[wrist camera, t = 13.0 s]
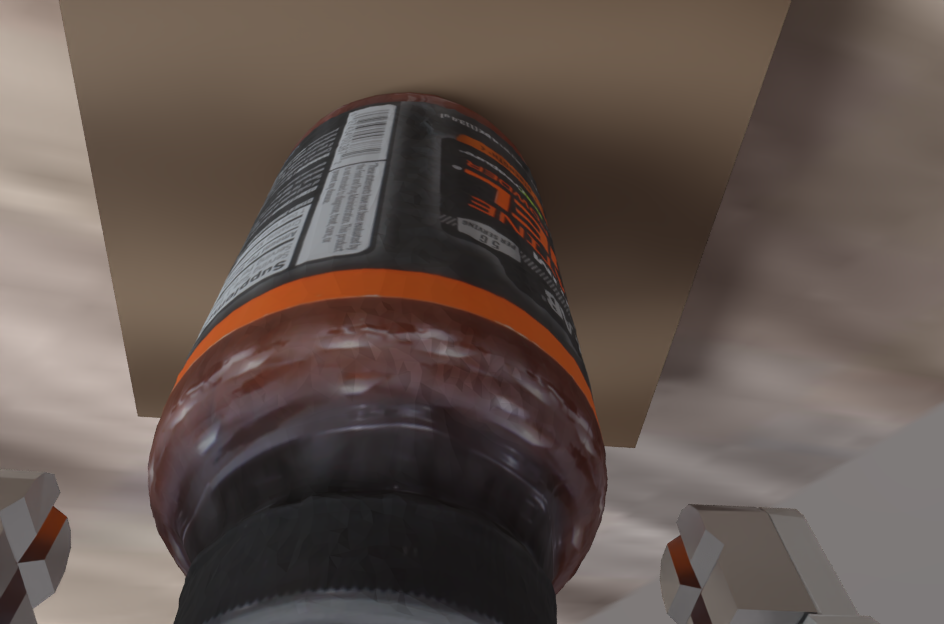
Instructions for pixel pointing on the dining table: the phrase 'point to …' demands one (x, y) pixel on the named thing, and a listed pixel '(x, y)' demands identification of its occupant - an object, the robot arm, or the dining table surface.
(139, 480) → the dining table surface
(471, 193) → the supplement bottle
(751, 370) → the dining table surface
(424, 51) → the beige flat square block
